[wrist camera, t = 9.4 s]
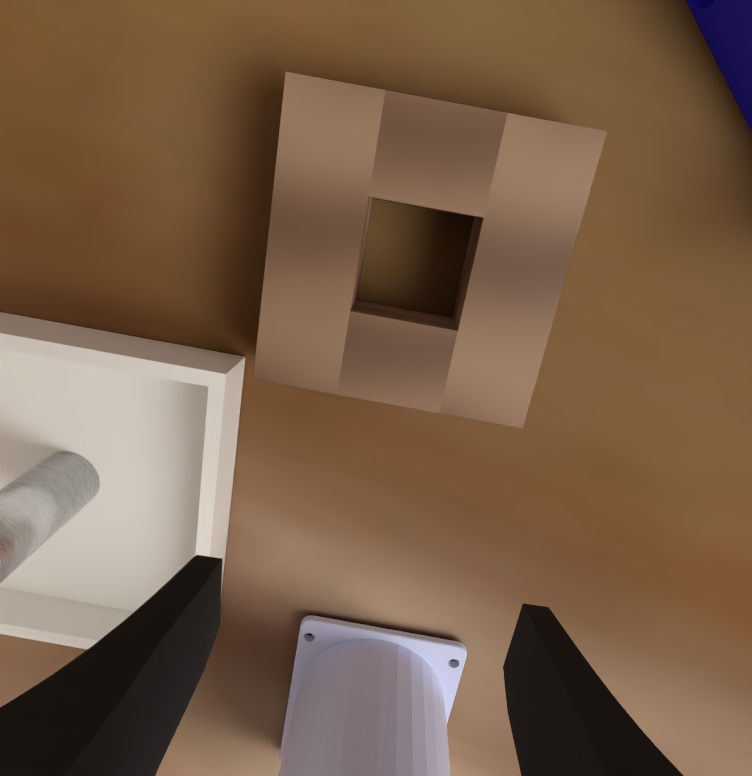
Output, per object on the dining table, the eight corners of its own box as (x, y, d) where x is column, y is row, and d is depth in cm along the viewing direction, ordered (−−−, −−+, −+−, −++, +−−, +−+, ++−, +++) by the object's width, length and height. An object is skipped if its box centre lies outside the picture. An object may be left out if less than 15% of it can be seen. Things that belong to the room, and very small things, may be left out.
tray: (218, 628, 26) (199, 669, 24) (-64, 577, 26) (-111, 614, 24) (245, 356, 22) (226, 374, 19) (-94, 295, 22) (-155, 304, 19)
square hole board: (509, 404, 22) (522, 428, 19) (269, 361, 22) (253, 378, 19) (581, 141, 19) (607, 131, 16) (300, 89, 19) (285, 71, 16)
